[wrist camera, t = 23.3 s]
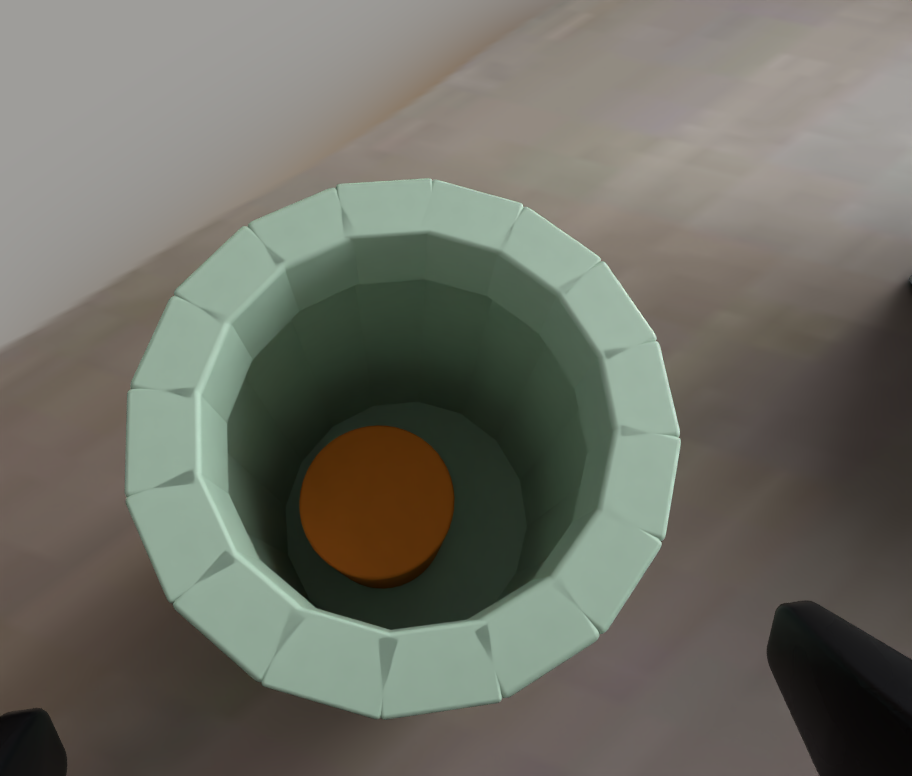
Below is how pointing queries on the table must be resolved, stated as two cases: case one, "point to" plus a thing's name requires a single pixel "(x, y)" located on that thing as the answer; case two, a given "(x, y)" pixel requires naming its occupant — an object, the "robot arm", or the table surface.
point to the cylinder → (377, 505)
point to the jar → (418, 411)
